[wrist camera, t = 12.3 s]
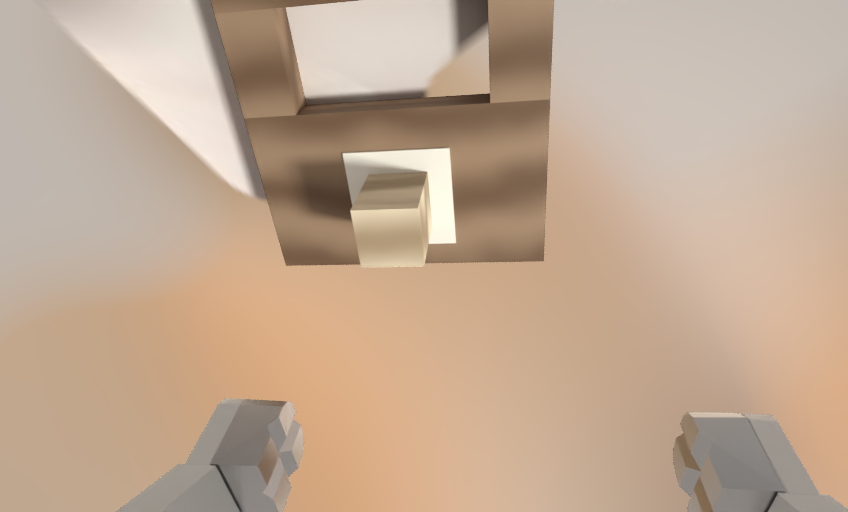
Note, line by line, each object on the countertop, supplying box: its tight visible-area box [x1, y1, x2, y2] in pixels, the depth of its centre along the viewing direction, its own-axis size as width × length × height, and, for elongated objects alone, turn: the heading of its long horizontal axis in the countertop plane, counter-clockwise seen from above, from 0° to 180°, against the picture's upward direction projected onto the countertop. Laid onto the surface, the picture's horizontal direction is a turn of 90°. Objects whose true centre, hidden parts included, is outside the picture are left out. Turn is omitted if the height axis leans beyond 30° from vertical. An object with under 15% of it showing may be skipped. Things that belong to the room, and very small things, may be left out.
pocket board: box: [211, 0, 554, 266], centre depth 37 cm, size 22×22×3 cm
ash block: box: [350, 172, 432, 267], centre depth 36 cm, size 4×4×6 cm
